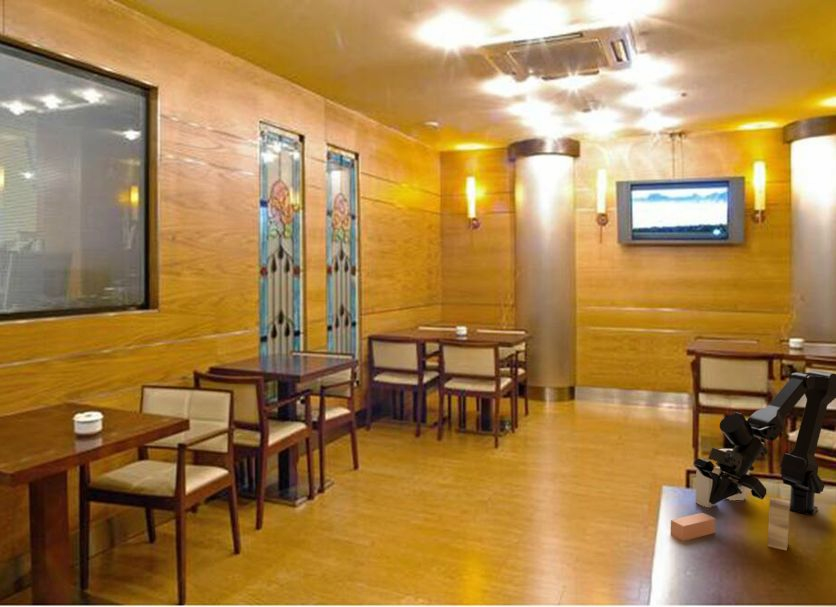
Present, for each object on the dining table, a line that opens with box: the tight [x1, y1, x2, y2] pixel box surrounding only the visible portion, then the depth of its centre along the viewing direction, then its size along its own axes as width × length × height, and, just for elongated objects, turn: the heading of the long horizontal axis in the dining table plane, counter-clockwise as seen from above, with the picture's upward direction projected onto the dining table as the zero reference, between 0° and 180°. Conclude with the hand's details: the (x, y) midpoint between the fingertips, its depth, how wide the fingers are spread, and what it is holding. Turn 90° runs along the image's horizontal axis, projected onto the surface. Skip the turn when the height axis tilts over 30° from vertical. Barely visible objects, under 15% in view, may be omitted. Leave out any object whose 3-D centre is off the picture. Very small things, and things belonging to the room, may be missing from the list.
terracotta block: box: [670, 512, 716, 542], centre depth 160 cm, size 4×4×11 cm
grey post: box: [694, 466, 718, 508], centre depth 179 cm, size 4×4×11 cm
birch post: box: [767, 496, 791, 551], centre depth 153 cm, size 4×4×11 cm
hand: (710, 503), depth 162 cm, fingers closed
